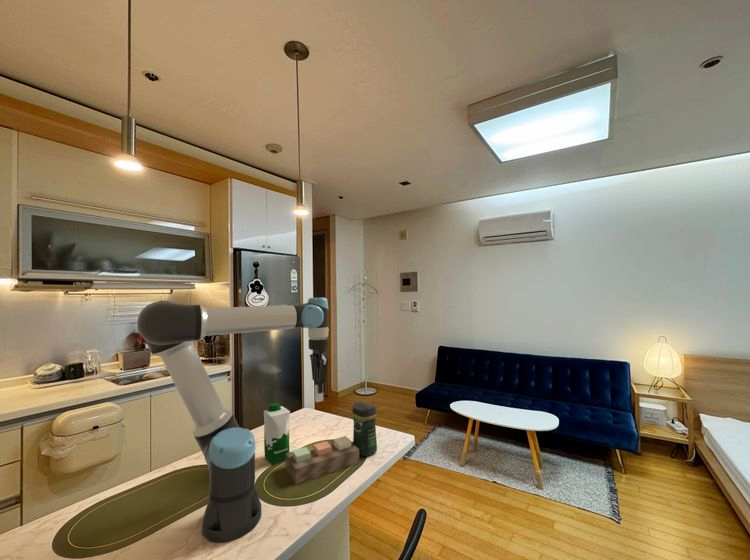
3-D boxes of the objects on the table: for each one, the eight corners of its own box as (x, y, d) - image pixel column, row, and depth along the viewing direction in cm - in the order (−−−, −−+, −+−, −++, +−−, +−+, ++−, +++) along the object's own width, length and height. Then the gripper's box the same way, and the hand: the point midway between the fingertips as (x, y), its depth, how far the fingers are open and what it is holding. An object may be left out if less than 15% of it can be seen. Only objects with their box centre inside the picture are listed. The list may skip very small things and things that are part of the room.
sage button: (296, 467, 108) (296, 456, 108) (292, 460, 112) (292, 450, 112) (310, 462, 111) (310, 452, 111) (306, 456, 115) (305, 446, 115)
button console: (295, 484, 104) (295, 468, 104) (285, 467, 114) (285, 453, 114) (359, 462, 117) (359, 449, 117) (345, 449, 127) (345, 436, 127)
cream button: (339, 454, 116) (339, 444, 116) (333, 448, 121) (333, 439, 121) (351, 450, 119) (351, 440, 119) (345, 444, 123) (345, 435, 123)
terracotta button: (318, 460, 112) (318, 450, 112) (313, 454, 116) (313, 444, 117) (331, 456, 115) (331, 446, 115) (326, 450, 119) (326, 441, 119)
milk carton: (283, 450, 127) (283, 400, 128) (293, 459, 120) (292, 406, 121) (261, 457, 121) (261, 405, 122) (270, 467, 114) (270, 411, 115)
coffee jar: (380, 451, 124) (379, 404, 125) (365, 459, 119) (364, 409, 120) (364, 443, 131) (364, 398, 132) (349, 450, 126) (349, 403, 127)
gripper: (334, 339, 116) (335, 404, 115) (321, 335, 127) (322, 394, 126) (315, 341, 112) (316, 408, 111) (303, 337, 123) (303, 398, 122)
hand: (319, 400), depth 119 cm, fingers closed
